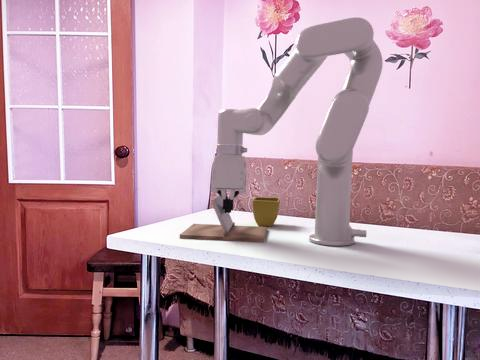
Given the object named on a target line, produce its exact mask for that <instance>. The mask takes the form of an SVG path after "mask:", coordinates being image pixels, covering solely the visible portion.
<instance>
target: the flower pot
mask: <svg viewBox="0 0 480 360" xmlns="http://www.w3.org/2000/svg"><path fill="white" fill-rule="evenodd" d="M251 202H252V213H253V218H254V221H255V223H256V225H257V226H258V227H273V226H274V224H275V222H276V220H277V218H278V215H279V211H280V202H281V198H280V197H270V196H269V197H266V196H264V197H263V196H255V197H254V198H253V199H252V200H251Z"/></svg>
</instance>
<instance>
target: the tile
mask: <svg viewBox="0 0 480 360" xmlns="http://www.w3.org/2000/svg"><path fill="white" fill-rule="evenodd" d="M210 202H211V204H212V207H213V209H214V212H215V214H216V216H217V219H218V221H219V223H220V224H219V225H221V226H222V229H223V231H224V232H225V231H228V230H229V229H230V228H231V226H232V225H233V222H234V221H233V219H232V217H231V215H230V213H228V212H227V213H225V210H223V199H222V197H221V196H220V195H219V194H218V195H216V196H215V197H214V198H212V199H211V200H210Z"/></svg>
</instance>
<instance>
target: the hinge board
mask: <svg viewBox="0 0 480 360" xmlns="http://www.w3.org/2000/svg"><path fill="white" fill-rule="evenodd" d="M232 222H233V225H232V226H231V228H230V229H229V230H228V231H225V232H224V231H223V229H222V226H221V224H210V223H209V224H207V223H193V224H192V225H190V226H189V227H188V228H186V229H185V230H184V231H182V232H181V233H180V234H179V239H188V240H189V239H191V240H207V241H208V240H212V241H229V242H230V241H232V242H250V243H251V242H255V243H265V239H266V235H267V232H268V226H258V225H257V226H254V225H253V226H251V225H250V226H249V225H236V224H235V221H232Z"/></svg>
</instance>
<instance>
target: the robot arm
mask: <svg viewBox="0 0 480 360" xmlns="http://www.w3.org/2000/svg"><path fill="white" fill-rule="evenodd" d="M340 54H344V55H345V56H346V58H348V59H349V62H350V66H349V69H348V72H347V75H346V77H345V80H344V82H343V86H342V88H341V91H340V92H338V93H337V94H336V95H335V96H334V98H333V99H332V100H331V101H332V102H330V103H331V104H330V106H329V108H328V110H327V113H326V115H325V118H324V120H323V123H322V126H321V128H320V131H319V133H318V136H317V138H316V142H315V151H316V155H317V172H316V173H317V174H316V193H315V196H316V197H315V219H314V233H312V234H310V235H309V236H308V237H309V238H308V239H309V241H310V242H311V243H314V244H317V245H323V246H331V247H332V246H333V247H335V246H336V247H341V246H342V247H343V246H351V245H353V244H355V237H359V238H367V233H368V232H367V230H363V229H357V228H356V229H355V228H352V226H351V225H350V220H351V218H350V216H351V194H352V177H353V176H352V175H353V172H352V171H353V170H352V169H353V157H354V156H353V153H354V147H355V145H356V143H357V141H358V138H359V136H360V134H361V131H362V128H363V126H364V123H365V121H366V119H367V116H368V114H369V110H370V104H371V101H372V99H373V96H374V95H375V91H376V88H377V86H378V83H379V81H380V78H381V74H382V71H383V64H384V63H383V57H382V52H381V50H380V47H379V46H378V44H377V43H376V42H375V40H374V28H373V26H372V24H371V23H370V22H369V21H368V20H367V19H365V18H362V17H349V18H344V19H343V18H342V19H340V20H334V21H329V22H325V23H319V24H315V25H311V26H308V27H306V28H304V29H302V31H300V32H299V33H298V35H297V37H296V40H295V49H293V51H292V53H291V54H290V55H289V56H288V58H286V60H285V61H284V63H282V65H281V66H280V68H278V70H277V71H276V73H275V74H274V77H273V79H272V83H271V84H272V85H271V87H270V90H269V91H268V94H267V95H266V97H265V98H264V100H263V101H262V102H261V103H260V105H259V106H258V107H257V108H255V107H254V108H253V107H252V108H245V109H234V108H225V109H224V108H222V109H220V110H219V112H218V115H217V141H216V142H217V146H216V147H217V148H216V155H214V158H213V163H212V171H211V183H210V184H211V188H210V192H211V193H215V194H218V196H219V195H220V196H221V197H222V199H223V210H225V213H227V212H228V213H229V214H230V213H232V211H233V210H234V200H235V198H236V197H237V196H238V195H243V194H246V193H247V188H246V186H247V163H246V162H247V161H246V157H245V156H244V155H243V154H244V153H248V147H244V144H243V142H244V141H243V140H244V134H245V135H246V134H247V135H253V136H264V135H266V134H268V133H269V132H270V131H271V130H272V129H273V128H274V127H275V125H276V124H277V123H278V122H279V120H280V119H281V118H283V115H285V113H286V111H287V110H288V109H289V107H290V106H291V104H292V103H293V101H295V99H296V97H297V96H298V94H299V93H300V92H301V91H302V89H303V88H304V87H305V85H306V84H307V83H308V81H309V80H310V79H311V78H312V77H313V76H314V74H315V73H316V72H317V71H318V69H319V68H320V67H321V66H322V65H323V63H324V62H325V60H326V59H327V58H328V57H330V56H336V55H340ZM227 190H230V194H229V196H228V193H227Z"/></svg>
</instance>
